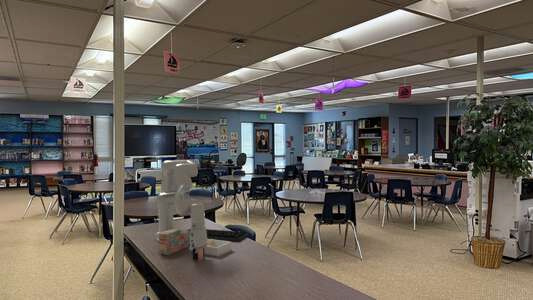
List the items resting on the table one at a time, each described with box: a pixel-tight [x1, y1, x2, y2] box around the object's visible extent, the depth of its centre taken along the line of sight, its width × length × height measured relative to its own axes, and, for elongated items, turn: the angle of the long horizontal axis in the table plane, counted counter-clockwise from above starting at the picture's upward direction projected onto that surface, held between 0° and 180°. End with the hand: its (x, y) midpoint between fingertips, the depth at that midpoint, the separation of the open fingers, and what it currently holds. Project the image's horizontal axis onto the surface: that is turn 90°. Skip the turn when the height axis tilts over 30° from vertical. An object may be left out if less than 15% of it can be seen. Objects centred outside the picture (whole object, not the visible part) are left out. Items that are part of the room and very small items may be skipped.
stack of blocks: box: [158, 228, 190, 256], centre depth 221 cm, size 21×6×12 cm, turn 153°
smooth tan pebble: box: [194, 246, 204, 262], centre depth 201 cm, size 5×5×7 cm
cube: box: [206, 239, 212, 247], centre depth 217 cm, size 5×5×5 cm
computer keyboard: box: [185, 228, 249, 243], centre depth 250 cm, size 45×16×4 cm, turn 69°
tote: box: [204, 239, 232, 257], centre depth 215 cm, size 18×14×5 cm
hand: (198, 258), depth 201 cm, fingers closed on smooth tan pebble, 4 cm apart
